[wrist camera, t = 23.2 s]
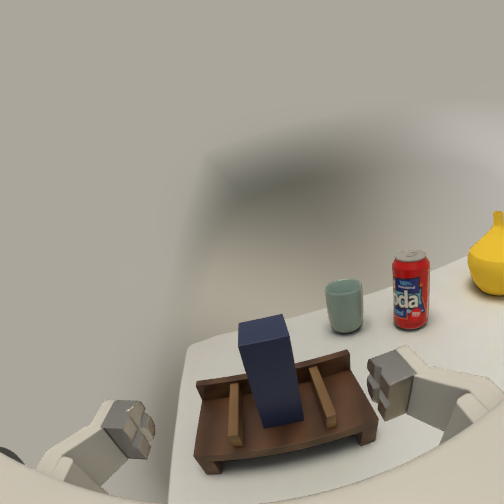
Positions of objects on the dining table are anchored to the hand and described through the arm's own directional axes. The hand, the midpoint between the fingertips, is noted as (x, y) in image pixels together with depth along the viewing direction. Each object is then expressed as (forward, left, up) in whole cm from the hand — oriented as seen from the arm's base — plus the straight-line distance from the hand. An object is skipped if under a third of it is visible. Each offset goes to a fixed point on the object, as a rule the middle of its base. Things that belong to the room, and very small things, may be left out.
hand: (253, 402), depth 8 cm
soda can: (+30, +36, -25) cm, 53 cm away
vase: (+59, +34, -25) cm, 73 cm away
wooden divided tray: (0, +18, -25) cm, 31 cm away
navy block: (0, +18, -20) cm, 27 cm away
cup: (+17, +42, -25) cm, 52 cm away
